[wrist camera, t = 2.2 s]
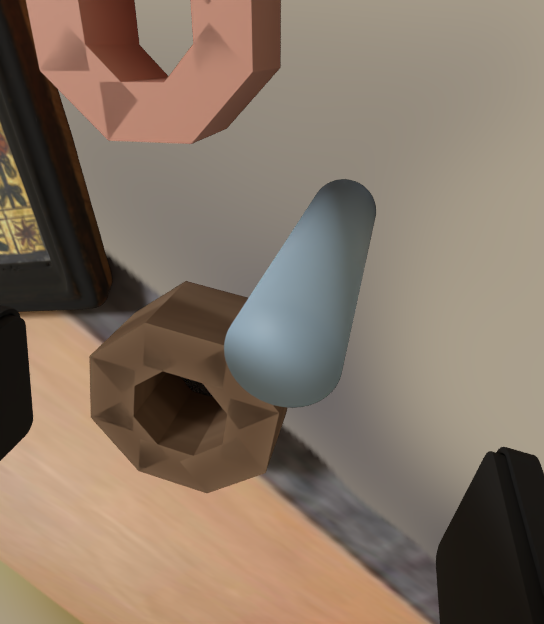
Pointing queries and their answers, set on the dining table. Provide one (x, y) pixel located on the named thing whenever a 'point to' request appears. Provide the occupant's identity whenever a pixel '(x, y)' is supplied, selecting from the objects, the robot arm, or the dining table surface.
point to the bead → (182, 393)
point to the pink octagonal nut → (148, 75)
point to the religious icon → (42, 188)
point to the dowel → (305, 302)
